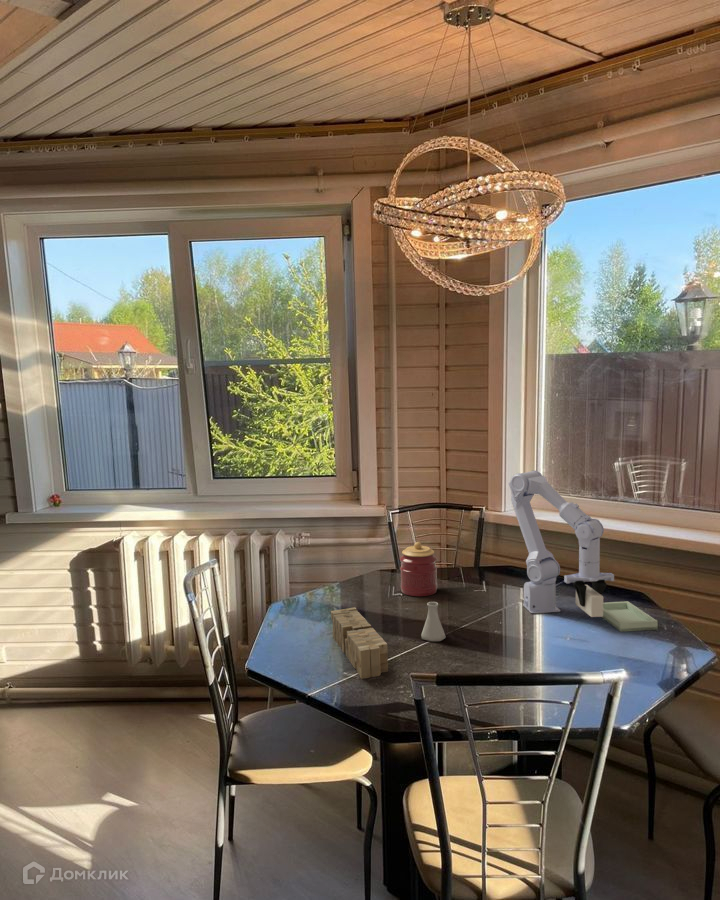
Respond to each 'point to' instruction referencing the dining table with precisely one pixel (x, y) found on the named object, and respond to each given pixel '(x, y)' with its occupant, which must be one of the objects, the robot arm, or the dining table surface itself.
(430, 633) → the flask
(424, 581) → the canister
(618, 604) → the tray
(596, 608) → the beige rectangular block
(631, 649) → the dining table surface
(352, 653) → the block tower
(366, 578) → the dining table surface
